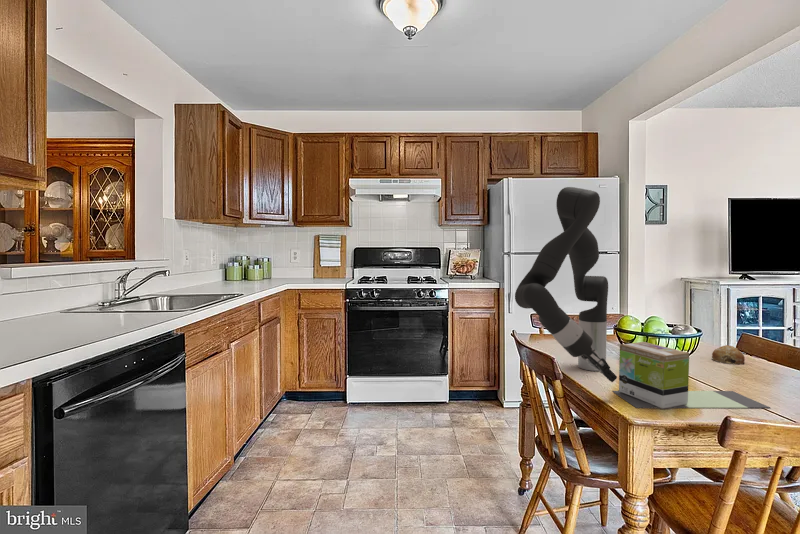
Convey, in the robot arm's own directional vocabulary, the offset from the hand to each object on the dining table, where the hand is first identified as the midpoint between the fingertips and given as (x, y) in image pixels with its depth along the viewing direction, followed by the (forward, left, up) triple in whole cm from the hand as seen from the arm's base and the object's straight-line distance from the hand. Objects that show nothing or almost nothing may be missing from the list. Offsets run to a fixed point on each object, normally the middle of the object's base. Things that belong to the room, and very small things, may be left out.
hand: (613, 379), depth 129 cm
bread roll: (-44, +64, -6) cm, 78 cm away
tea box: (0, +11, -6) cm, 12 cm away
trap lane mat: (0, +21, -6) cm, 22 cm away
